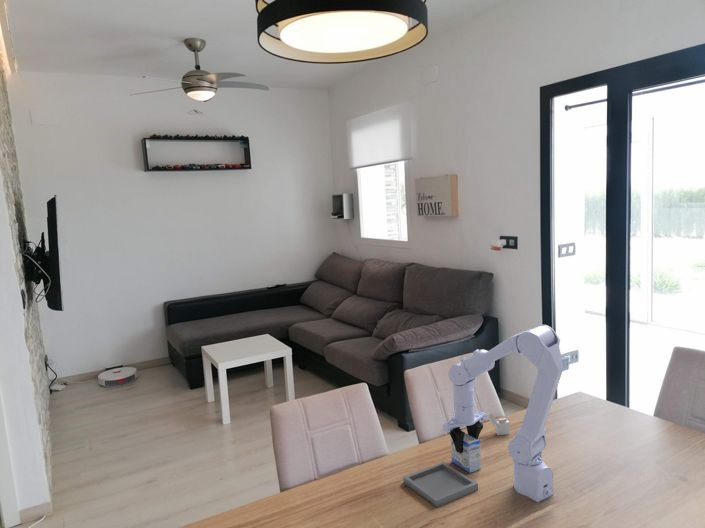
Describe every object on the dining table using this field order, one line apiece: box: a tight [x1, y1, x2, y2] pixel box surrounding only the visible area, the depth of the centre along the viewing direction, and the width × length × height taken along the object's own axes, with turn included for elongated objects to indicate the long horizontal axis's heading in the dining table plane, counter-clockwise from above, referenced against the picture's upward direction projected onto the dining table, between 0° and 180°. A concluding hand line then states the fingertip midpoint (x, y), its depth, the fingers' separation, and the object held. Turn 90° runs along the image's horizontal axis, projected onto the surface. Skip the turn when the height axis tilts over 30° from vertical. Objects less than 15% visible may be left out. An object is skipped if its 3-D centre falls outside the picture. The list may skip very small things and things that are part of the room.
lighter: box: [486, 411, 511, 436], centre depth 162 cm, size 7×2×8 cm, turn 99°
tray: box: [402, 461, 479, 508], centre depth 134 cm, size 14×14×2 cm
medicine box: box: [450, 432, 482, 474], centre depth 144 cm, size 8×4×9 cm, turn 30°
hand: (465, 449), depth 144 cm, fingers closed on medicine box, 4 cm apart
